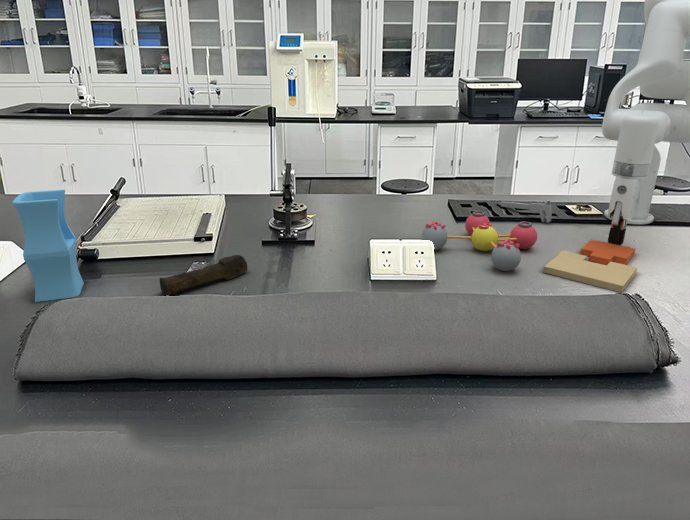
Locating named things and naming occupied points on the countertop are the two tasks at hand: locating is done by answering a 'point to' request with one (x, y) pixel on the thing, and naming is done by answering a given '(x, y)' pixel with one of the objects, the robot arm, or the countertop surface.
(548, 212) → the caliper
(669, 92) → the robot arm
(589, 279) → the notch pad
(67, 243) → the vase
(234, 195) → the countertop surface
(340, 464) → the countertop surface
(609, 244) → the tab pad
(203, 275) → the hand tool
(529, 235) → the molecule model
